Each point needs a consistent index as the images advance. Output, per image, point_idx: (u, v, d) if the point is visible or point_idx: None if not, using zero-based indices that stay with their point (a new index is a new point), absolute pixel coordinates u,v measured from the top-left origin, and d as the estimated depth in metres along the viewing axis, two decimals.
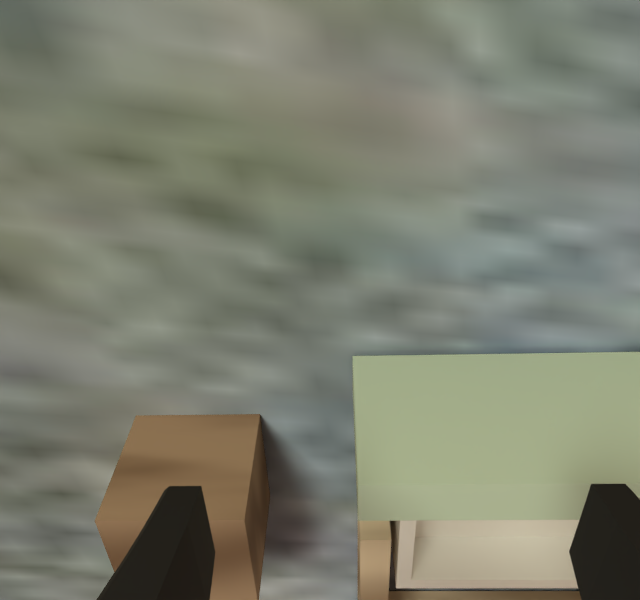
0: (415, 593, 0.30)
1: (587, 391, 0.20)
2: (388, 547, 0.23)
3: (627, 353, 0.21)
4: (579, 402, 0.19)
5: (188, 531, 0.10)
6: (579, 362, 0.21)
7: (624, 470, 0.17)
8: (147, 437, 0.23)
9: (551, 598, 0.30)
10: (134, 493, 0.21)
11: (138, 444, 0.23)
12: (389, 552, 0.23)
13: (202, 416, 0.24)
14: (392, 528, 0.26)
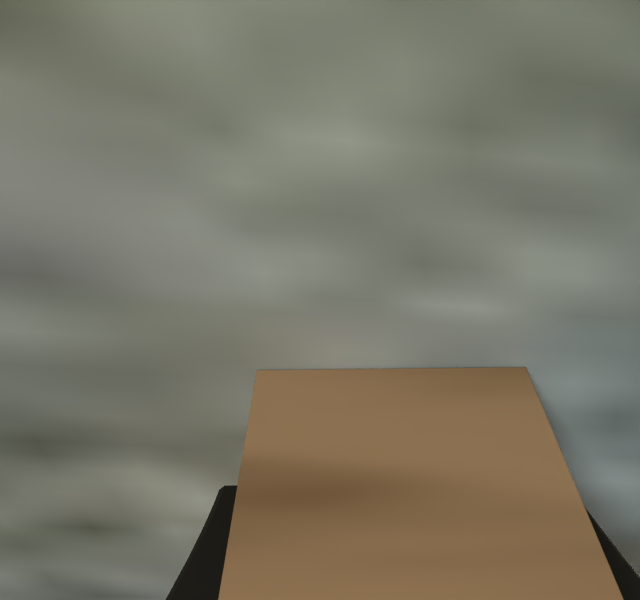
0: None
1: None
2: None
3: None
4: None
5: None
6: None
7: None
8: (294, 418, 0.10)
9: None
10: (301, 559, 0.08)
11: (278, 434, 0.10)
12: None
13: (402, 374, 0.11)
14: None
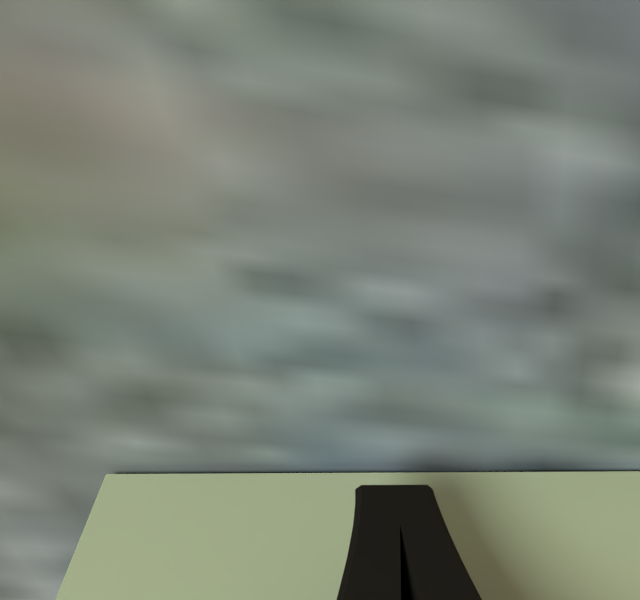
0: None
1: None
2: None
3: (506, 474, 0.14)
4: None
5: None
6: None
7: None
8: None
9: None
10: None
11: None
12: None
13: None
14: None
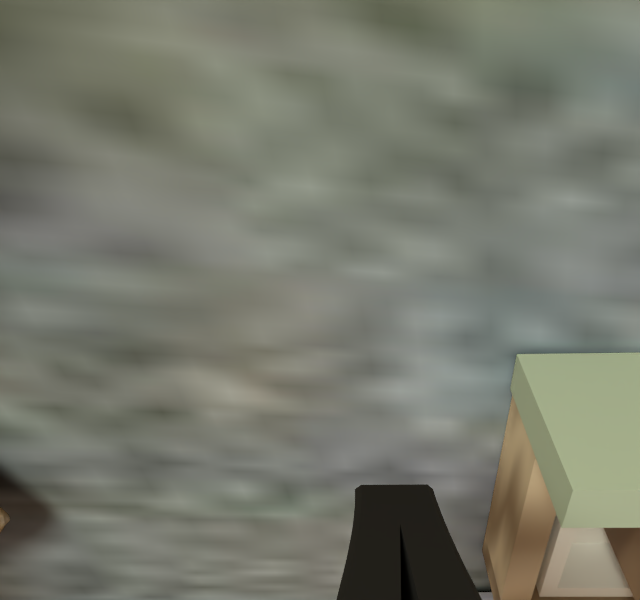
0: None
1: None
2: None
3: None
4: None
5: None
6: None
7: None
8: None
9: None
10: None
11: None
12: None
13: None
14: None
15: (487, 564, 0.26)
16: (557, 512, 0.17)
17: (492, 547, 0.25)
